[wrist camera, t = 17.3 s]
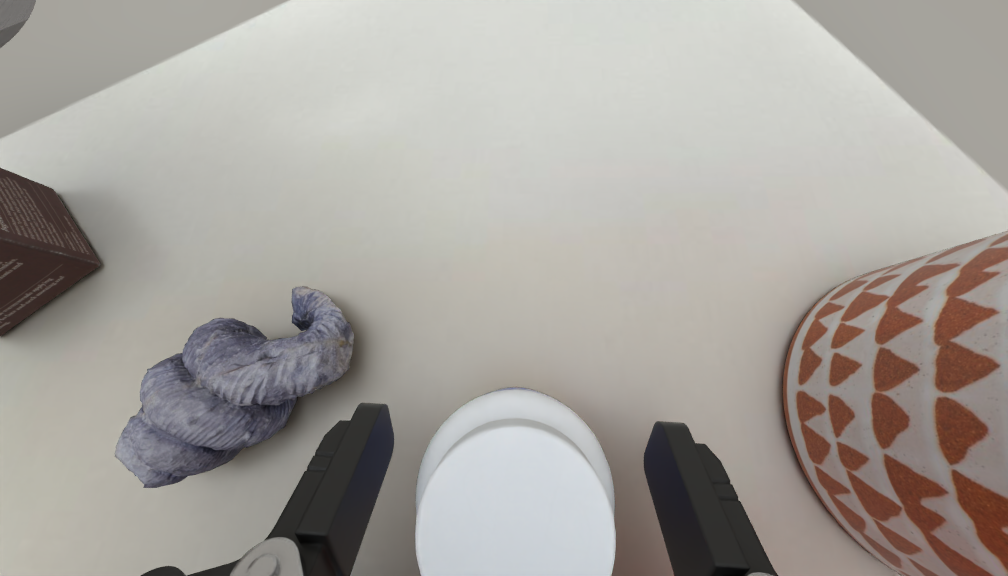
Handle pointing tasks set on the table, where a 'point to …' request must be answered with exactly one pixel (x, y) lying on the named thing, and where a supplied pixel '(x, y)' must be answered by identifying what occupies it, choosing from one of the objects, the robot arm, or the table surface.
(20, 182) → the box
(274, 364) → the seashell
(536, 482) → the pill bottle
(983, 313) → the planter
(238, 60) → the table surface
